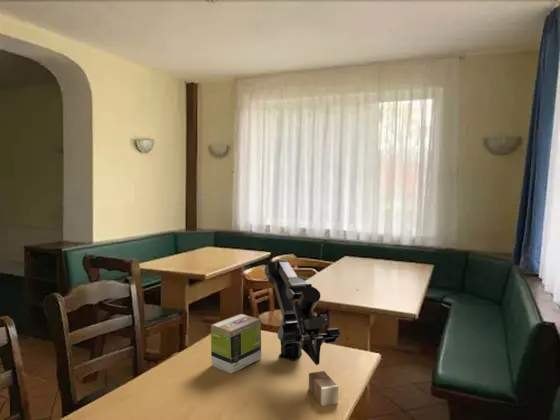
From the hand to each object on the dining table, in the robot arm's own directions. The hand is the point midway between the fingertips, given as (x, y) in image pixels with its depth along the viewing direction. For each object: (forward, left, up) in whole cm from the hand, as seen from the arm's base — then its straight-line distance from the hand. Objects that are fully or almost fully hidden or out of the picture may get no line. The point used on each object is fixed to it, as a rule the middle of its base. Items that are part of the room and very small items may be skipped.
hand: (317, 364), depth 131 cm
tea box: (-31, +3, -8) cm, 32 cm away
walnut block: (-1, 0, -5) cm, 5 cm away
